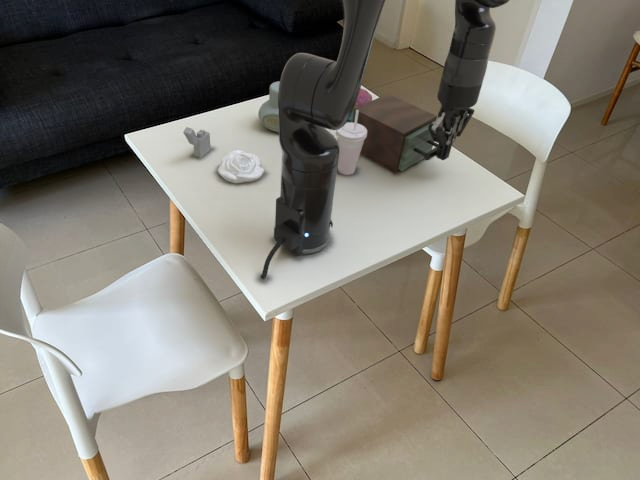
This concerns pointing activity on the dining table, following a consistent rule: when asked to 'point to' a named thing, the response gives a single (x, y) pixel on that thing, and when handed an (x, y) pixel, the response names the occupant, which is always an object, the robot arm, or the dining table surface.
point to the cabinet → (389, 128)
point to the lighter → (198, 141)
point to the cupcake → (361, 100)
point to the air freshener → (271, 109)
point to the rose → (240, 167)
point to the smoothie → (350, 145)
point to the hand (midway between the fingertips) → (441, 157)
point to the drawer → (417, 147)
